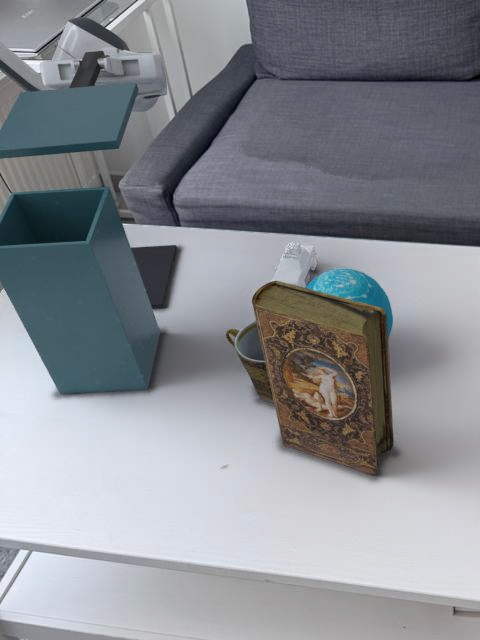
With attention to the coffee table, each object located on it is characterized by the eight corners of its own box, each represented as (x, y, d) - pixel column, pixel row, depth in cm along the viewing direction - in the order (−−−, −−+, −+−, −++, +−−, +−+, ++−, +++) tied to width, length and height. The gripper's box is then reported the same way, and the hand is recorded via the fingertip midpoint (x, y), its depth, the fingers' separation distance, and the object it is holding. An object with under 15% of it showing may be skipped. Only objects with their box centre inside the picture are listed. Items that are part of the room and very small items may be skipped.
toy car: (269, 298, 131) (263, 265, 125) (290, 258, 138) (284, 225, 132) (302, 302, 130) (297, 268, 124) (321, 262, 137) (317, 228, 131)
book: (277, 444, 110) (244, 303, 90) (295, 419, 113) (267, 278, 93) (378, 478, 105) (367, 337, 85) (394, 451, 108) (387, 309, 88)
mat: (163, 308, 130) (162, 304, 130) (89, 312, 131) (88, 308, 130) (177, 248, 141) (176, 244, 141) (109, 252, 142) (107, 248, 141)
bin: (147, 389, 118) (89, 243, 97) (59, 394, 118) (-18, 249, 97) (160, 332, 126) (109, 186, 106) (78, 337, 127) (11, 192, 106)
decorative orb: (323, 320, 127) (312, 241, 115) (406, 336, 123) (404, 256, 111) (287, 378, 118) (271, 299, 106) (375, 397, 115) (370, 318, 103)
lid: (119, 148, 104) (116, 140, 103) (-8, 159, 104) (-13, 151, 103) (151, 54, 123) (148, 46, 122) (43, 64, 123) (40, 56, 122)
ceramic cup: (322, 379, 118) (315, 328, 110) (288, 420, 113) (278, 370, 105) (254, 355, 122) (242, 305, 114) (218, 394, 117) (203, 344, 109)
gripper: (54, 61, 131) (19, 46, 118) (170, 53, 131) (148, 38, 118) (62, 101, 133) (29, 91, 121) (176, 94, 133) (155, 83, 120)
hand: (89, 65), depth 119 cm, fingers closed on lid, 3 cm apart
